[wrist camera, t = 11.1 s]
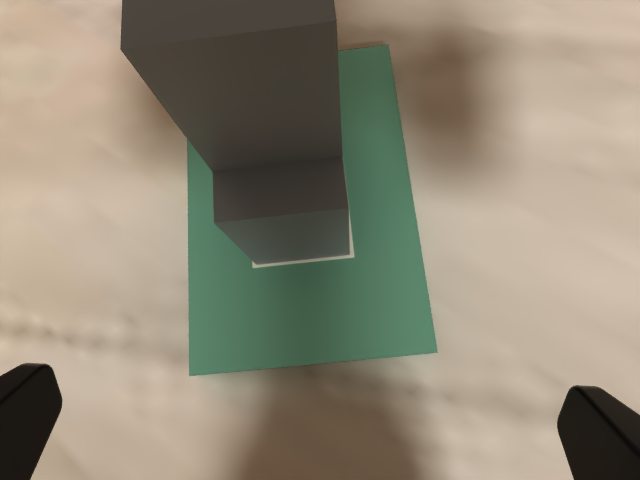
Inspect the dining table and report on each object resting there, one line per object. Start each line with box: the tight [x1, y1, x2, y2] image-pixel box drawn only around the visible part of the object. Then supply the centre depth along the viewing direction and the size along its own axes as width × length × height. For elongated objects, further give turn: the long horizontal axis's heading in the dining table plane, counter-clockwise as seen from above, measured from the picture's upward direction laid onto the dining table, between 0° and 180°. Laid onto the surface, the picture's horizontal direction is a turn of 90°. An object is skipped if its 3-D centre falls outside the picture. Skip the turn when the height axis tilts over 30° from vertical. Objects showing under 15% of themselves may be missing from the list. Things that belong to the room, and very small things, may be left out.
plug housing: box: [121, 0, 350, 265], centre depth 15 cm, size 7×4×12 cm
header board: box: [187, 45, 438, 376], centre depth 20 cm, size 16×11×5 cm
